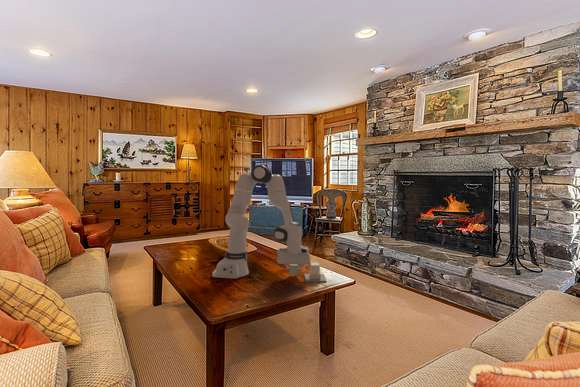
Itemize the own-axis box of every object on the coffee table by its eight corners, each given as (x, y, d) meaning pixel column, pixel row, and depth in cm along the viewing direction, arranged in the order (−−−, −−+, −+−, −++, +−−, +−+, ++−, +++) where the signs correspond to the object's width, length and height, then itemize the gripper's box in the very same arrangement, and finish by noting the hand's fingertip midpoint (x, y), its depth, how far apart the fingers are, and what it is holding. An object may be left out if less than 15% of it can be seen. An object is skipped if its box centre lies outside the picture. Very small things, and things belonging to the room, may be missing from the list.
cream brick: (311, 273, 182) (311, 265, 181) (310, 270, 187) (310, 262, 186) (319, 273, 182) (319, 265, 181) (318, 270, 187) (318, 262, 186)
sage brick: (289, 274, 186) (289, 266, 186) (289, 272, 191) (289, 264, 191) (297, 275, 186) (297, 266, 185) (297, 272, 191) (297, 264, 190)
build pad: (305, 282, 179) (305, 275, 178) (304, 275, 191) (304, 269, 190) (326, 282, 179) (326, 275, 178) (323, 275, 191) (323, 269, 190)
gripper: (276, 249, 184) (276, 272, 185) (310, 250, 184) (310, 273, 185) (277, 246, 191) (277, 268, 192) (310, 247, 190) (309, 269, 191)
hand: (293, 270), depth 188 cm, fingers closed on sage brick, 5 cm apart
